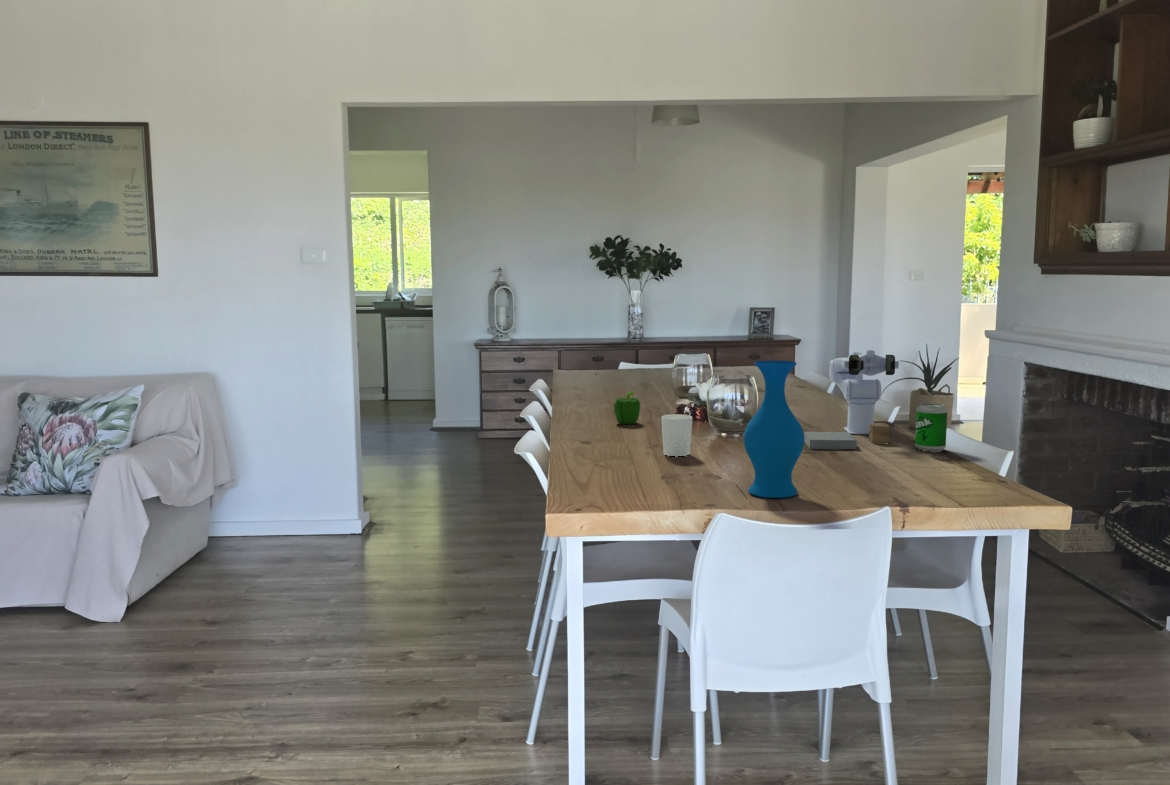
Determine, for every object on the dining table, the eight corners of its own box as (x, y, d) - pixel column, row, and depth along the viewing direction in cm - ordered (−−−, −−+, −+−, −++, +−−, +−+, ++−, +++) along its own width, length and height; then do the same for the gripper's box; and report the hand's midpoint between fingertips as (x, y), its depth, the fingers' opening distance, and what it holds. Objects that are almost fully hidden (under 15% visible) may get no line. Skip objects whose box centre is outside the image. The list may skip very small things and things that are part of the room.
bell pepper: (623, 426, 269) (623, 394, 267) (609, 422, 276) (609, 391, 274) (646, 424, 273) (646, 392, 271) (632, 420, 280) (632, 389, 278)
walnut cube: (868, 440, 242) (869, 423, 242) (885, 441, 242) (886, 423, 241) (871, 444, 238) (872, 426, 237) (888, 444, 238) (889, 426, 237)
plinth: (803, 440, 243) (804, 431, 243) (848, 441, 242) (848, 432, 242) (809, 449, 232) (809, 439, 231) (856, 449, 230) (856, 440, 230)
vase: (736, 487, 191) (738, 360, 187) (793, 486, 191) (796, 359, 188) (750, 501, 179) (753, 366, 175) (811, 500, 180) (814, 365, 176)
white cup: (688, 458, 221) (688, 419, 220) (658, 456, 224) (658, 418, 222) (694, 452, 228) (695, 415, 227) (665, 451, 231) (665, 413, 230)
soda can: (940, 447, 232) (942, 402, 231) (949, 453, 225) (951, 407, 223) (911, 447, 233) (913, 402, 231) (919, 452, 225) (921, 406, 224)
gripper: (840, 350, 248) (849, 350, 234) (893, 350, 246) (905, 350, 232) (840, 375, 248) (849, 376, 234) (893, 375, 246) (904, 376, 233)
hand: (877, 365), depth 233 cm, fingers open, 7 cm apart
